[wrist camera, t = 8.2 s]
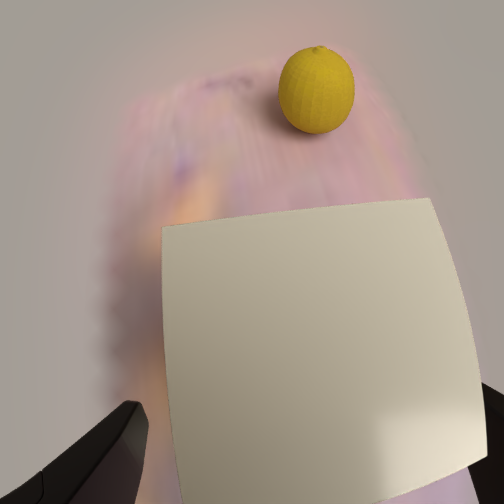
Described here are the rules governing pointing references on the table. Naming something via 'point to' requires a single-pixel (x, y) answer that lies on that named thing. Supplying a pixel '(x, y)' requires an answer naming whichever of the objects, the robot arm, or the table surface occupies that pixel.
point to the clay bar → (318, 356)
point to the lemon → (316, 90)
